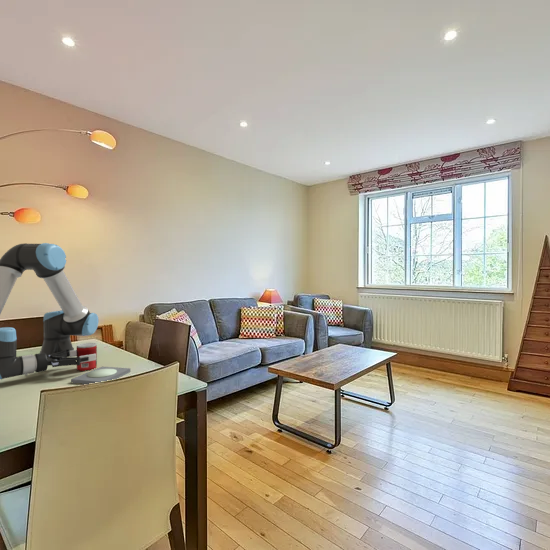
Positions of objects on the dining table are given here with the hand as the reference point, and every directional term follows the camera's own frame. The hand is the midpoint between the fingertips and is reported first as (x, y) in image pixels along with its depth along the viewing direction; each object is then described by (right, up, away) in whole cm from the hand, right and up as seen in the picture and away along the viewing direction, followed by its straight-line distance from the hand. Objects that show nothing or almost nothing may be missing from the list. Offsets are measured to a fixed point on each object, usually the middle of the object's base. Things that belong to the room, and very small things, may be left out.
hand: (90, 354), depth 154 cm
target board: (+12, -7, -12) cm, 18 cm away
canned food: (-1, -7, -1) cm, 7 cm away
